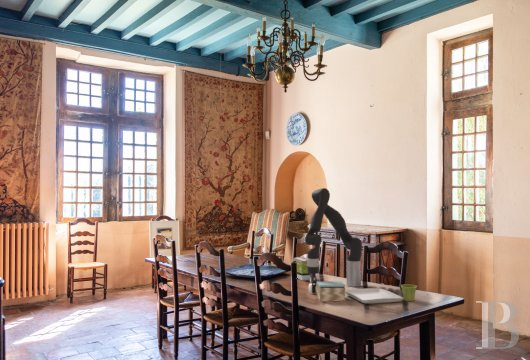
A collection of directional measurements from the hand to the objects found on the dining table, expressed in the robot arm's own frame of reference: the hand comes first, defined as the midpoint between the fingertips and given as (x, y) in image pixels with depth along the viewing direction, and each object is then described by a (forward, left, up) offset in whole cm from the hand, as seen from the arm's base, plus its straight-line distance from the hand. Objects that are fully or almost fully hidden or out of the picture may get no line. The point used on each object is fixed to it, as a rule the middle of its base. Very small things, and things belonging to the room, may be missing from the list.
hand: (313, 291), depth 298 cm
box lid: (-9, +16, +8) cm, 20 cm away
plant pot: (-55, +20, -1) cm, 59 cm away
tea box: (+1, -48, -1) cm, 48 cm away
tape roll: (0, 0, -1) cm, 1 cm away
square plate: (-34, +16, -1) cm, 38 cm away
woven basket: (-9, +16, -1) cm, 18 cm away
